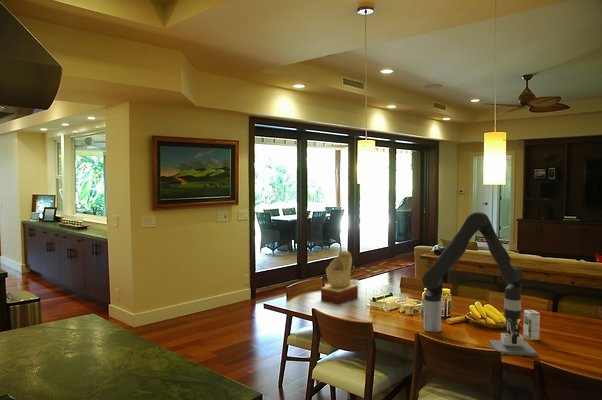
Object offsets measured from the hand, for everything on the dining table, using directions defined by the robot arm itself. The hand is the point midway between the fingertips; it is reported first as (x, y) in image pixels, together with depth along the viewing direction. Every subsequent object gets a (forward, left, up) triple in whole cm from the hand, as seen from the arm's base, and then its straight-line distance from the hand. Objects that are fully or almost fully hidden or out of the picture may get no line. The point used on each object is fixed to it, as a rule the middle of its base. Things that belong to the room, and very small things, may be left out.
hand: (512, 341), depth 212 cm
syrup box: (+15, +18, -4) cm, 24 cm away
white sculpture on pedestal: (-91, +84, -4) cm, 124 cm away
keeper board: (0, 0, -4) cm, 4 cm away
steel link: (0, 0, -1) cm, 1 cm away
